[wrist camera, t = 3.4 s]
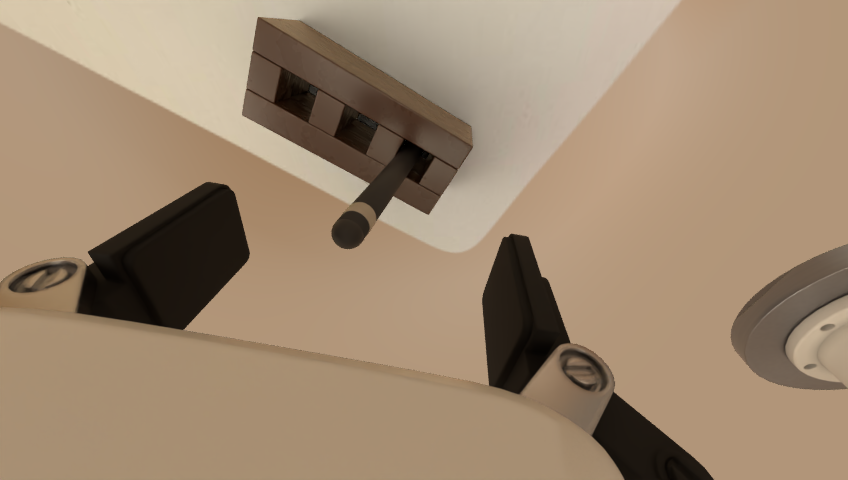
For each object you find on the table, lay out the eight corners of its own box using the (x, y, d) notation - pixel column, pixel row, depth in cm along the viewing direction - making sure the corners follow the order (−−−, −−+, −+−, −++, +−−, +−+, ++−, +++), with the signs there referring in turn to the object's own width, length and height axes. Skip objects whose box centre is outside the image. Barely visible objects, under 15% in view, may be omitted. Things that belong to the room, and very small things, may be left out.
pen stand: (299, 19, 18) (256, 15, 14) (471, 126, 20) (473, 147, 17) (280, 101, 21) (241, 115, 17) (434, 186, 23) (428, 215, 20)
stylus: (430, 133, 21) (358, 231, 10) (428, 150, 22) (357, 259, 11) (413, 129, 21) (324, 223, 10) (411, 147, 22) (325, 251, 11)
